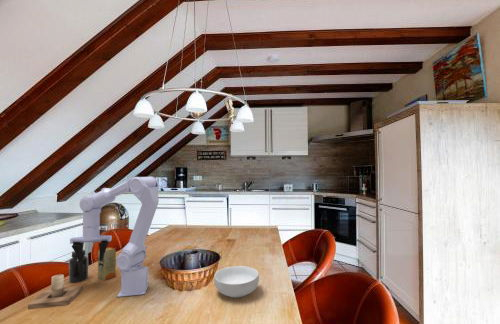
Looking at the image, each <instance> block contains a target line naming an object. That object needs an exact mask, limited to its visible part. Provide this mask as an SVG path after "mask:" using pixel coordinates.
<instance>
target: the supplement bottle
mask: <svg viewBox="0 0 500 324" xmlns="http://www.w3.org/2000/svg"><path fill="white" fill-rule="evenodd" d="M71 257H72V258H70V259H69V261H68V281H69V283H72V284H73V283H81V282H84V281H85V280H87V279H88V277H89V258H88V256H86V250H85V249H83V260H82V261H81V262H78V258H77V255H76V253H75V251H74V250H73V251H72V252H71Z"/></svg>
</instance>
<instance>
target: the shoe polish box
mask: <svg viewBox="0 0 500 324" xmlns="http://www.w3.org/2000/svg"><path fill="white" fill-rule="evenodd" d="M116 253H117V249H116V248H115V247H110V246H107V248H106V250H105V253H104V258H103V260H100V249H98V250H97V279H98V280H102V281H104V282H105V281H107V280H110V279H113V278H115V277H116V272H117V271H116V270H117V268H116V266H117V263H116V260H117V255H116Z"/></svg>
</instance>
